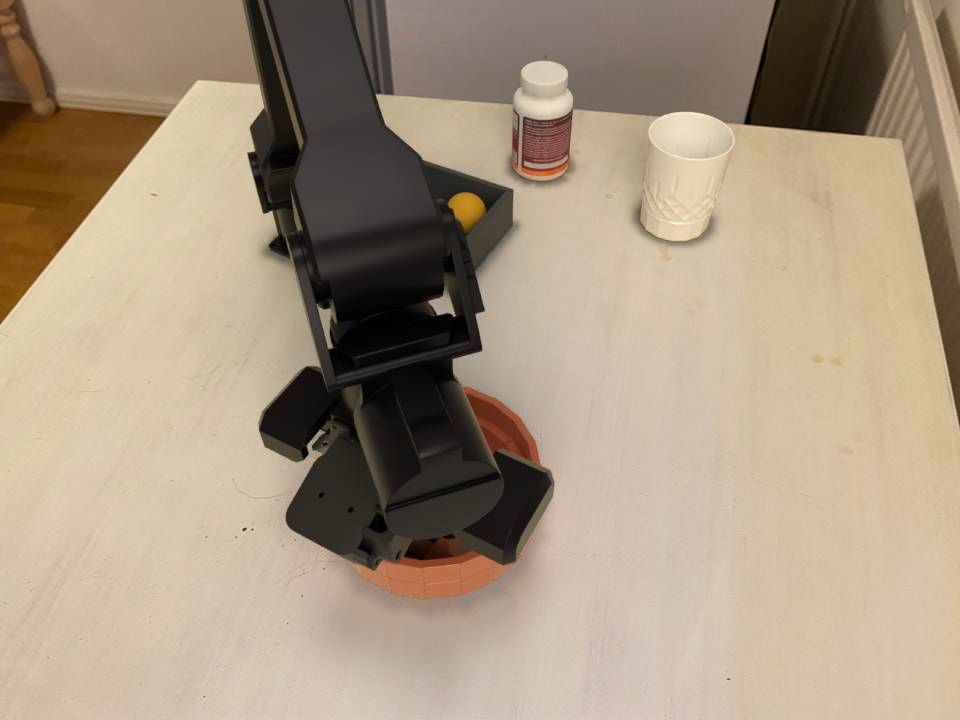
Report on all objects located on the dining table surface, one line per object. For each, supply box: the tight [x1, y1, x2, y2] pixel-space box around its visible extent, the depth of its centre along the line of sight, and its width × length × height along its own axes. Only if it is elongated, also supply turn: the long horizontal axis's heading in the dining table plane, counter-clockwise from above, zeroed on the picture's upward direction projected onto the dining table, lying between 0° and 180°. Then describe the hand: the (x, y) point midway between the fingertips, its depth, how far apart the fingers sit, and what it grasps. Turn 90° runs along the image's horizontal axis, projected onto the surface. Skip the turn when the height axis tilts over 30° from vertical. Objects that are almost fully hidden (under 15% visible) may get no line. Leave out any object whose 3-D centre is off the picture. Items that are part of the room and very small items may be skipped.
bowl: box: [346, 385, 542, 601], centre depth 58 cm, size 15×15×5 cm
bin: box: [423, 159, 514, 287], centre depth 79 cm, size 12×11×4 cm
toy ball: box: [448, 192, 486, 234], centre depth 79 cm, size 4×4×4 cm
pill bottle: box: [511, 60, 574, 182], centre depth 84 cm, size 6×6×11 cm
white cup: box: [639, 111, 736, 242], centre depth 78 cm, size 8×8×10 cm
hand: (412, 524), depth 57 cm, fingers closed on toy block, 3 cm apart
